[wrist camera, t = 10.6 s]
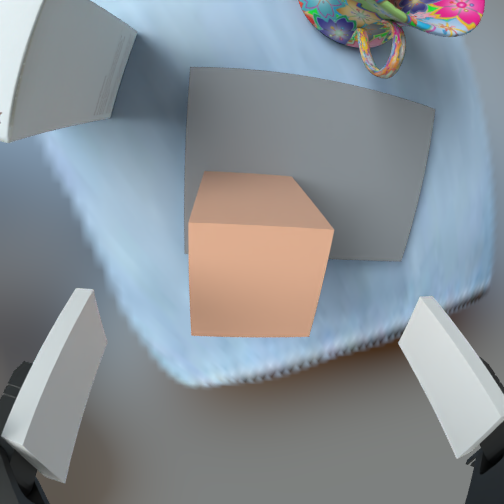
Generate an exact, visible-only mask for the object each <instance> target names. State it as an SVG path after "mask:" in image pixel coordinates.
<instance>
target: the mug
mask: <svg viewBox="0 0 504 504" xmlns="http://www.w3.org/2000/svg"><path fill="white" fill-rule="evenodd" d="M299 4H300V6H301V8H302V11H303V12H304V14H305V16H306V17H307V18H308V20H309V21H310V22H311V23H312V24H313V25H314V26H315V27H316V28H317V29H318V30H319V31H320V32H322V33H323V34H324V35H326V36H327V37H329V38H331V39H332V40H334V41H336V42H339V43H341V44H344V45H347V46H352V47H358V48H359V49H360V54H361V57H362V60H363V62H364V64H365V66H366V68H367V69H368V70H369V71H370V72H371V73H372V74H373V75H375V76H377V77H380V78H385V79H386V78H390V77H392V76H393V75H394V74H395V73H396V72H397V71H398V69H399V68H400V66H401V64H402V61H403V58H404V55H405V48H406V40H405V35H404V32H403V30H402V28H401V26H411V27H414V28H417V29H419V30H421V31H424V32H427V33H430V34H434V35H438V36H443V37H456V36H462V35H465V34H467V33H469V32H471V31H472V30H473V29H474V28H475V27H476V26H477V25H478V24H479V22H480V20H481V18H482V16H483V12H484V6H485V0H299ZM392 37H393V42H392V49H391V53H390V56H389V58H388V61H387V62H386V64H385V66H384V67H383V68H382V69H380V70H379V69H378V68H377V66H376V64H375V63H374V60H373V58H372V55H371V51H370V48H371V47H376V46H379V45H382V44H384V43H386V42H387V41H389V40H390V39H391V38H392Z"/></svg>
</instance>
